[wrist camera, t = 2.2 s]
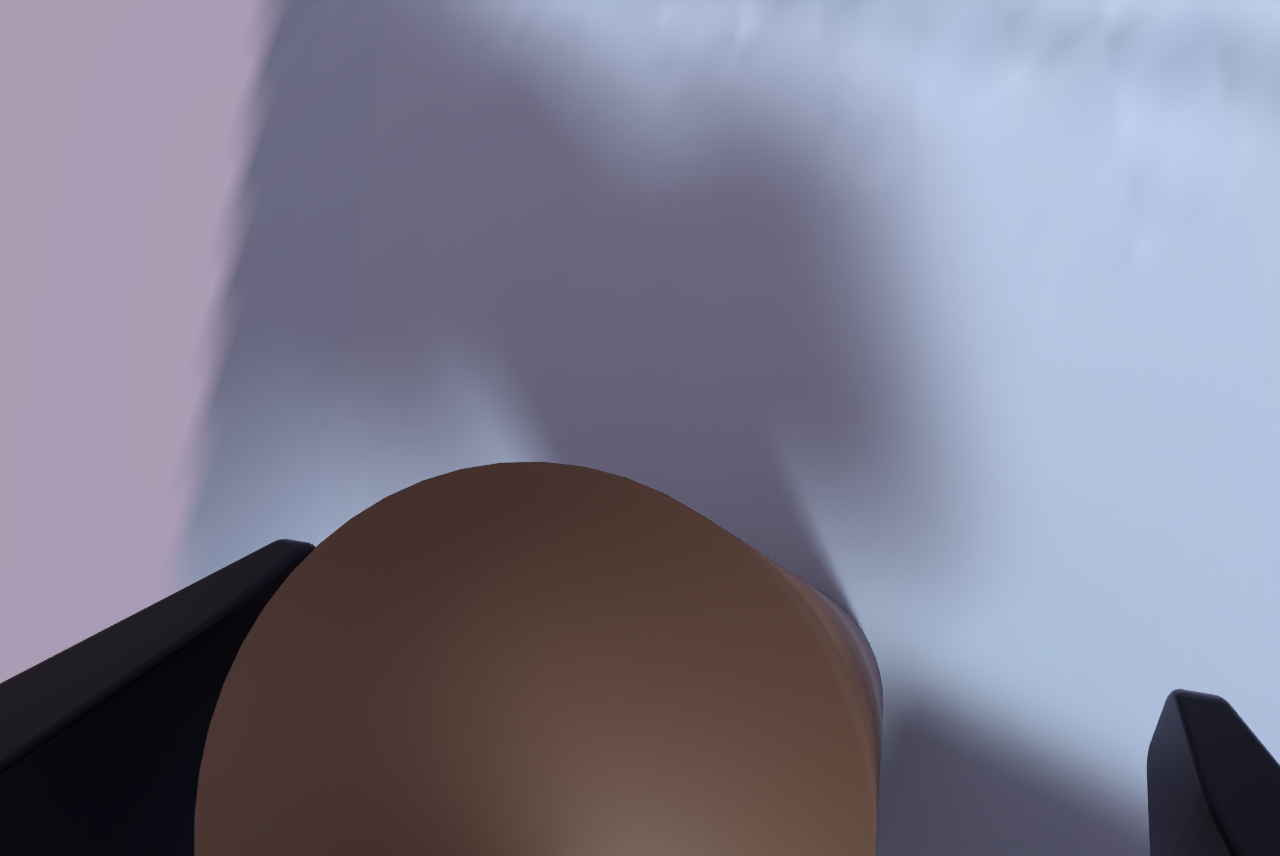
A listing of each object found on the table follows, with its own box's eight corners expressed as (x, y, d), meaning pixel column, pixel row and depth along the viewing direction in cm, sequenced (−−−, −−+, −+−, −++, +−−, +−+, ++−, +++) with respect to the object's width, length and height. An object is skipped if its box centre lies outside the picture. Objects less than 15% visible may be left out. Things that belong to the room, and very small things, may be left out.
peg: (820, 861, 16) (652, 1426, 5) (614, 739, 17) (82, 944, 6) (922, 643, 16) (1007, 661, 5) (714, 538, 18) (393, 358, 6)
